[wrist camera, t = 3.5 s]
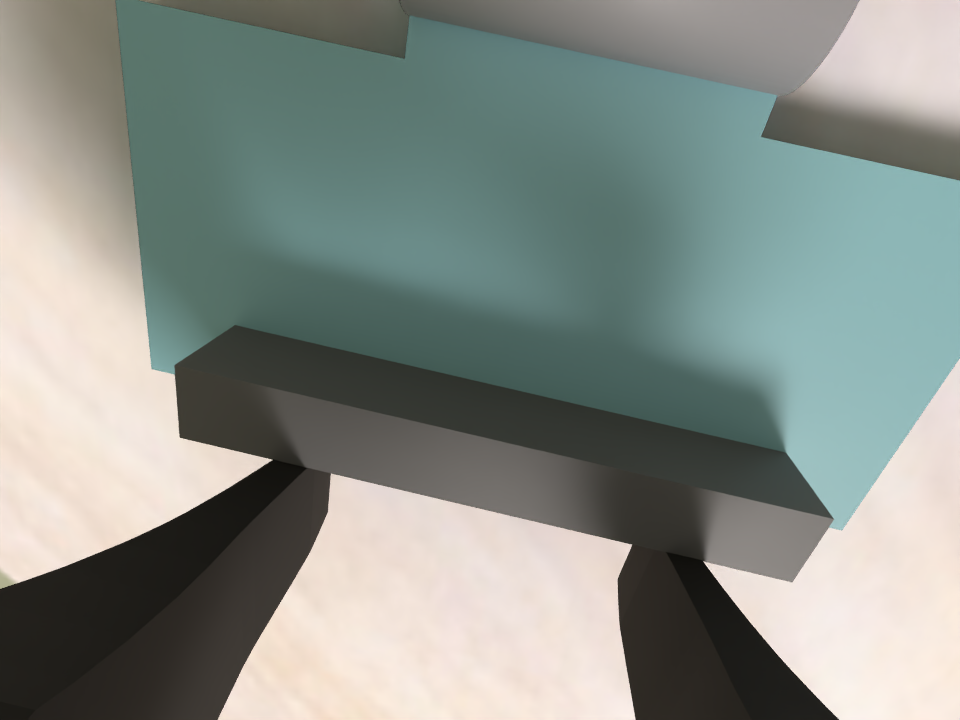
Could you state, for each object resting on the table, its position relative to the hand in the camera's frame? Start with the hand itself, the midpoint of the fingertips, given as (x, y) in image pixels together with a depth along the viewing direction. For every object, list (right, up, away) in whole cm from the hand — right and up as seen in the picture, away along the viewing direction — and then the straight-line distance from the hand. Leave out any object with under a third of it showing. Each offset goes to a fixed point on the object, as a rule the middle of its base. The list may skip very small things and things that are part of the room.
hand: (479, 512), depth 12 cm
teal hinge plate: (+1, +6, -1) cm, 7 cm away
